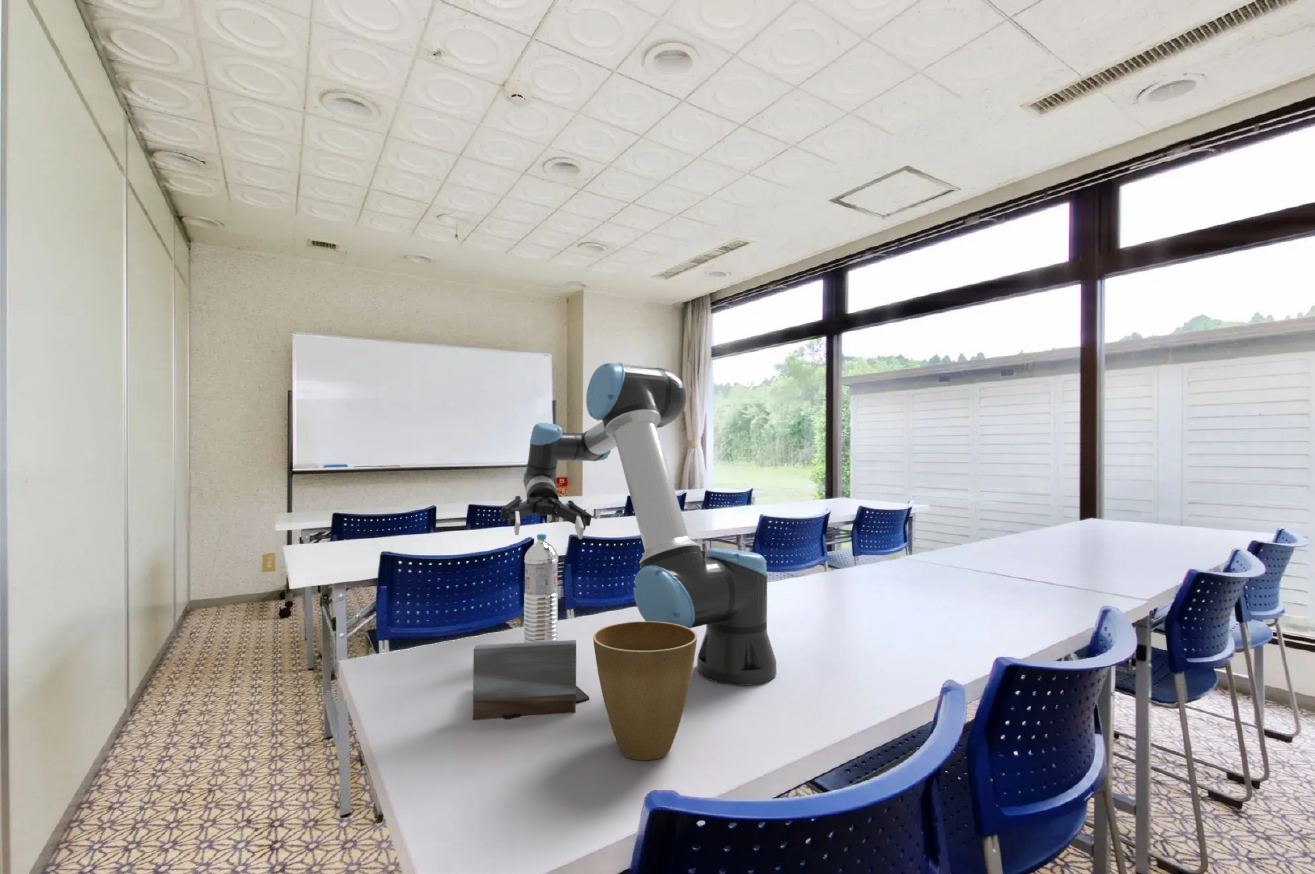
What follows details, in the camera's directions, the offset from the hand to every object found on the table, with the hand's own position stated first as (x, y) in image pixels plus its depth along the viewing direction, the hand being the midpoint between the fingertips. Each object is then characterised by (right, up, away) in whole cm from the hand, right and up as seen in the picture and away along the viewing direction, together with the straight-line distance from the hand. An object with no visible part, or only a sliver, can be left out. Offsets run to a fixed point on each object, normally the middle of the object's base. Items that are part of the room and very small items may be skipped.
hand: (550, 531), depth 125 cm
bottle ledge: (+1, -25, -25) cm, 35 cm away
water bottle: (-1, -25, -4) cm, 26 cm away
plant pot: (+21, -24, -41) cm, 52 cm away
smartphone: (+3, -25, -26) cm, 36 cm away
